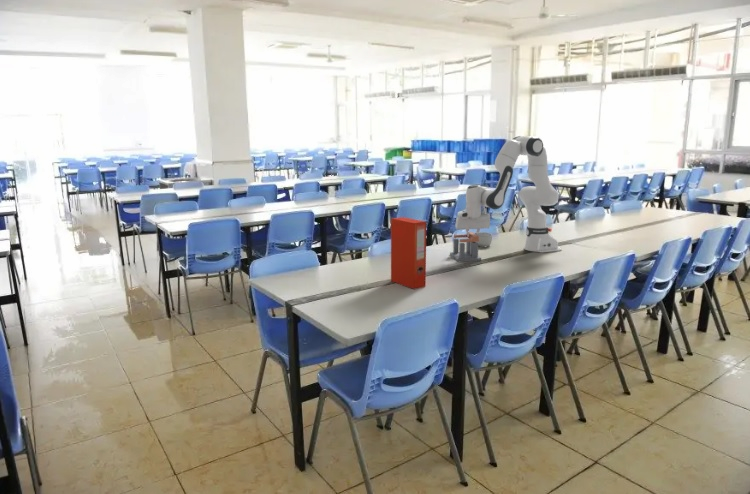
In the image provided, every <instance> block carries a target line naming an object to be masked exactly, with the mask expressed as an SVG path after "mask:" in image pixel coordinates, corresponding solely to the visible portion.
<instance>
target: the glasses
mask: <svg viewBox="0 0 750 494" xmlns="http://www.w3.org/2000/svg"><path fill="white" fill-rule="evenodd" d="M468 232H469V233H470V234H471V235H470V237H468V236H467V233H466V234H453V239H459V238H460V239H459V243H467V242H478V241H479V236H477V235H476V234H475V232H472V231H468ZM470 238H471V239H470Z"/></svg>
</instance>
